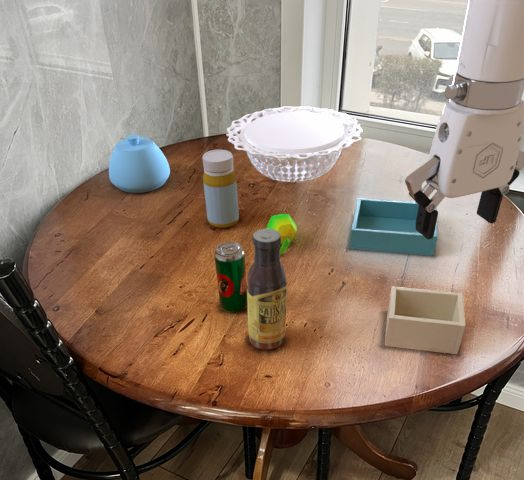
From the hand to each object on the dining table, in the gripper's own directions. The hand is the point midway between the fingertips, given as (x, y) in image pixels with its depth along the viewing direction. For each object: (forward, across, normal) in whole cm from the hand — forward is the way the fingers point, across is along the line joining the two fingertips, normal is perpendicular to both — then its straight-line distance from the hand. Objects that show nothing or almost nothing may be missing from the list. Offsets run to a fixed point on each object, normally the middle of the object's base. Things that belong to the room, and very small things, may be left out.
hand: (455, 226), depth 72 cm
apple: (+23, -8, +40) cm, 47 cm away
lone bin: (+23, +2, +4) cm, 23 cm away
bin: (+23, +14, +33) cm, 43 cm away
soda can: (+23, -25, +24) cm, 41 cm away
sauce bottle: (+23, -22, +13) cm, 35 cm away
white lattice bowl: (+23, +5, +66) cm, 70 cm away
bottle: (+23, -17, +54) cm, 61 cm away
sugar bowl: (+23, -30, +81) cm, 90 cm away
